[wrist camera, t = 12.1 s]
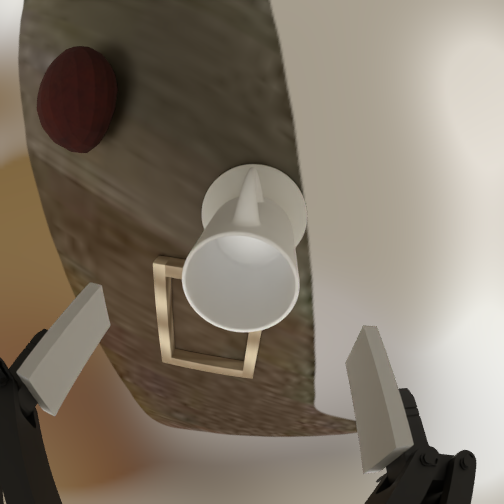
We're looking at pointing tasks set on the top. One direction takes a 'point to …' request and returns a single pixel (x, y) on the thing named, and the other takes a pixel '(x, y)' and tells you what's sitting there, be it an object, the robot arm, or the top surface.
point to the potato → (77, 99)
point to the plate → (273, 188)
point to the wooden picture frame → (163, 296)
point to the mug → (244, 263)
